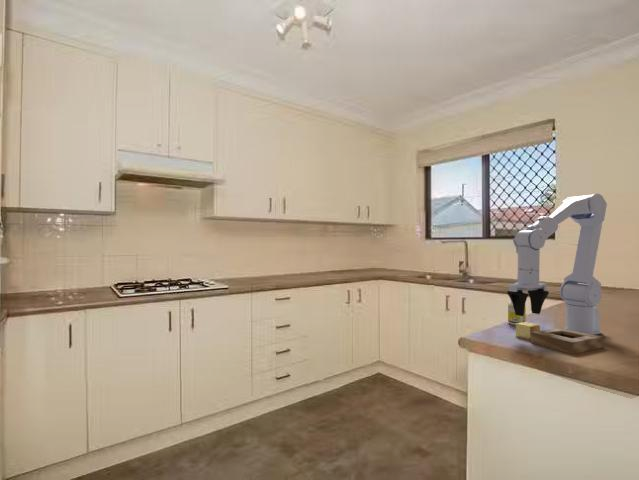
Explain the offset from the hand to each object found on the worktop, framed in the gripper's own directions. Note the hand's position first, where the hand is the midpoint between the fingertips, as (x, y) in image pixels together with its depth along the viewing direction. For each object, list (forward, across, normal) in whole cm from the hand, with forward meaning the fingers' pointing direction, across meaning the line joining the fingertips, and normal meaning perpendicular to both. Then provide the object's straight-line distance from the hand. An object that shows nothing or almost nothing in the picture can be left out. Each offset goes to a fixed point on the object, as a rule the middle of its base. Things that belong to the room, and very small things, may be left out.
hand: (527, 314), depth 108 cm
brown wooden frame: (+7, -2, +10) cm, 12 cm away
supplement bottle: (+7, -13, -13) cm, 20 cm away
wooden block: (+7, 0, 0) cm, 7 cm away
